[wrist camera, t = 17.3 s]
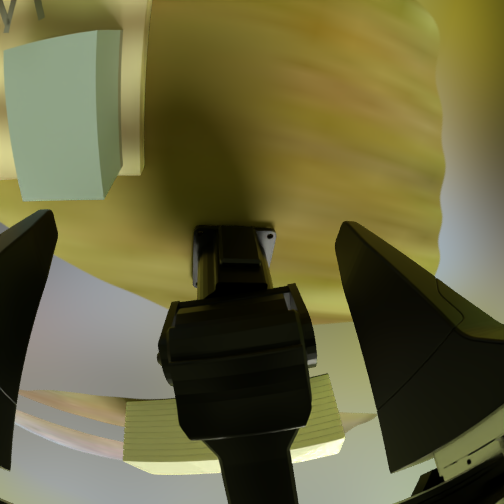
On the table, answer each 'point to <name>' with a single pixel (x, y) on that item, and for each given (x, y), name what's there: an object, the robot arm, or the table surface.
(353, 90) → the table surface
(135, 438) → the stack of papers
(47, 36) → the maple board
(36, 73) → the block
